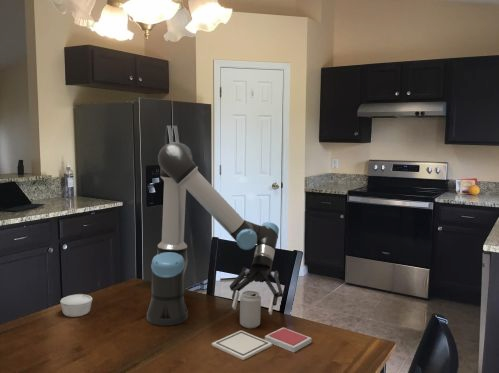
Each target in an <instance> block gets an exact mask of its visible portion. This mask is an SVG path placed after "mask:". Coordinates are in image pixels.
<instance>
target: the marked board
mask: <svg viewBox="0 0 499 373" xmlns="http://www.w3.org/2000/svg"><path fill="white" fill-rule="evenodd" d="M211 346H212V347H214V348H217V349H219V350H220V351H223V352H225V353H227V354H229V355H231V356H234V357H236V358H237V359H239V360H242V361H245V360H247V359H248V358H251V357H252V356H253V357H254V355H257V354H258V353H260V352H262V351H264V350H266V349H268V348H270V347H272V346H273V344H272V343H271V342H268V341H266V340H265V339H264V338H260V337H258V336H256V335H253V334H251V333H248V332H246V331H244V330H238V331H236V332H234V333H232V334H230V335H229V334H228V335H226V336H225V337H223V338H220V339H218V340H215V341H213V342H211Z"/></svg>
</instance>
